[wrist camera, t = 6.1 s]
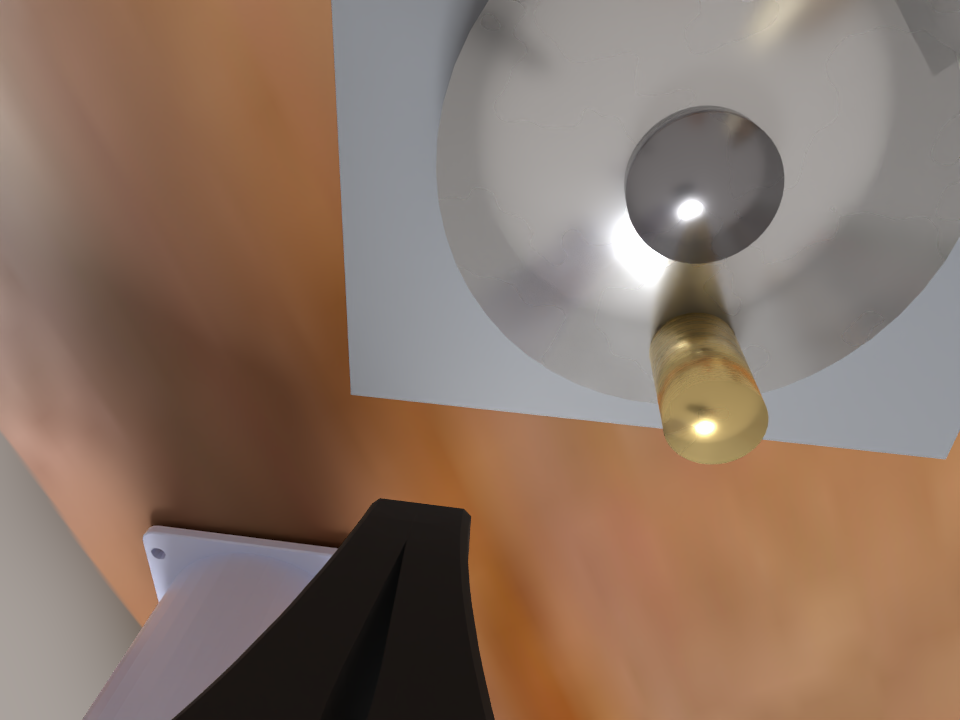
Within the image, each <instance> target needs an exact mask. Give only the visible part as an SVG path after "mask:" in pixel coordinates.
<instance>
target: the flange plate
mask: <svg viewBox="0 0 960 720" xmlns="http://www.w3.org/2000/svg"><path fill="white" fill-rule="evenodd" d="M436 178H437V189H438V201H439V207H440V212H441V216H442V221H443V226H444V230H445V235H446V238H447V240H448V243H449V246H450V249H451V252H452V254H453V257H454V260H455V263H456V265H457V267H458V269H459V271H460V273H461V275H462V277H463V279H464V281H465V283H466V285H467V286H468V288H469V290H470V292H471V293H472V295H473V296H474V298H475V299H476V301H477V302H478V303H479V305H480V306H481V308H482V309H483V311H484V312H485V314H486V315H487V316H488V317H489V318H490V319H491V321H492V322H493V323H494V324H495V325H496V326H497V327H498V328H499V330H500V331H501V332H502V333H503V334H504V335H505V336H506V337H507V338H508V339H509V340H510V341H512V342H513V343H514V344H515V345H516V346H517V347H519V348H520V349H521V350H522V351H523V352H524V353H525V354H527V355H528V356H529V357H531V358H532V359H534V360H535V361H537V362H538V363H540V364H541V365H543V366H544V367H546V368H547V369H549V370H550V371H552V372H554V373H556V374H558V375H560V376H562V377H564V378H566V379H568V380H570V381H572V382H574V383H576V384H578V385H581V386H584V387H586V388H589V389H592V390H594V391H597V392H600V393H603V394H606V395H610V396H615V397H619V398H623V399H627V400H631V401H638V402H646V403H654V404H658V405H659V411H660V416H661V421H662V426H663V432H664V436H665V438H666V440H667V442H668V444H669V445H670V447H671V448H672V449H673V450H674V451H675V452H676V453H677V454H679V455H680V456H682V457H684V458H686V459H688V460H690V461H693V462H697V463H702V464H722V463H727V462H731V461H734V460H736V459H739V458H741V457H743V456H745V455H746V454H748V453H749V452H751V451H752V450H753V449H754V448H755V447H756V446H757V445H758V444H759V443H760V442H761V440H762V439H763V437H764V435H765V433H766V430H767V427H768V417H769V416H768V411H767V408H766V405H765V403H764V400H763V398H762V396H761V394H762V393H765V392H768V391H772V390H775V389H778V388H782V387H785V386H787V385H789V384H792V383H794V382H796V381H799V380H801V379H804V378H806V377H808V376H811V375H813V374H815V373H817V372H819V371H821V370H822V369H824V368H826V367H828V366H830V365H832V364H833V363H835V362H837V361H839V360H841V359H843V358H844V357H846V356H847V355H849V354H850V353H852V352H853V351H854V350H856V349H857V348H859V347H860V346H862V345H863V344H865V343H866V342H868V341H869V340H870V339H872V338H873V337H874V336H875V335H877V334H878V333H879V332H880V331H881V330H883V329H884V328H885V327H886V326H887V325H888V324H890V323H891V322H892V321H893V320H894V319H895V318H897V317H898V316H899V315H900V314H901V313H902V312H903V311H904V310H905V309H906V308H907V306H908V305H909V304H910V303H911V302H912V301H913V300H914V299H915V298H916V297H917V296H918V295H919V294H920V293H921V292H922V291H923V290H924V288H925V287H926V286H927V284H928V283H929V282H930V280H931V279H932V278H933V276H934V275H935V274H936V272H937V271H938V270H939V269H940V267H941V266H942V265H943V263H944V262H945V261H946V259H947V257H948V256H949V254H950V252H951V251H952V249H953V247H954V246H955V244H956V242H957V240H958V239H959V237H960V0H489V1H488V2H487V4H486V5H485V7H484V9H483V10H482V12H481V14H480V15H479V17H478V19H477V20H476V22H475V23H474V25H473V27H472V28H471V30H470V32H469V34H468V37H467V39H466V41H465V43H464V45H463V48H462V50H461V52H460V54H459V57H458V59H457V61H456V63H455V65H454V69H453V72H452V75H451V78H450V82H449V85H448V88H447V92H446V95H445V98H444V101H443V107H442V113H441V119H440V124H439V130H438V136H437V158H436Z"/></svg>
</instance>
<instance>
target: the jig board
mask: <svg viewBox="0 0 960 720" xmlns="http://www.w3.org/2000/svg"><path fill="white" fill-rule="evenodd" d="M488 1H489V0H331V3H332V23H333V43H334V63H335V83H336V103H337V123H338V143H339V163H340V184H341V204H342V224H343V244H344V264H345V284H346V304H347V324H348V344H349V364H350V384H351V395H359V396H368V397H377V398H386V399H395V400H405V401H414V402H423V403H432V404H441V405H451V406H460V407H469V408H478V409H487V410H497V411H506V412H515V413H524V414H533V415H543V416H552V417H561V418H570V419H579V420H589V421H598V422H607V423H616V424H626V425H635V426H644V427H653V428H662V429H663V426H662V421H661V416H660V411H659V405H658V404H654V403H646V402H638V401H631V400H627V399H623V398H619V397H615V396H610V395H606V394H603V393H600V392H597V391H594V390H592V389H589V388H586V387H584V386H581V385H578V384H576V383H574V382H572V381H570V380H568V379H566V378H564V377H562V376H560V375H558V374H556V373H554V372H552V371H550V370H549V369H547V368H546V367H544V366H543V365H541V364H540V363H538V362H537V361H535V360H534V359H532V358H531V357H529V356H528V355H527V354H525V353H524V352H523V351H522V350H521V349H520V348H519V347H517V346H516V345H515V344H514V343H513V342H512V341H510V340H509V339H508V338H507V337H506V336H505V335H504V334H503V333H502V332H501V331H500V330H499V328H498V327H497V326H496V325H495V324H494V323H493V322H492V321H491V319H490V318H489V317H488V316H487V315H486V314H485V312H484V311H483V309H482V308H481V306H480V305H479V303H478V302H477V301H476V299H475V298H474V296H473V295H472V293H471V292H470V290H469V288H468V286H467V285H466V283H465V281H464V279H463V277H462V275H461V273H460V271H459V269H458V267H457V265H456V263H455V260H454V257H453V254H452V252H451V249H450V246H449V243H448V240H447V238H446V235H445V230H444V226H443V221H442V216H441V212H440V207H439V201H438V189H437V178H436V158H437V136H438V130H439V124H440V119H441V113H442V107H443V101H444V98H445V95H446V92H447V88H448V85H449V82H450V78H451V75H452V72H453V69H454V65H455V63H456V61H457V59H458V57H459V54H460V52H461V50H462V48H463V45H464V43H465V41H466V39H467V37H468V34H469V32H470V30H471V28H472V27H473V25H474V23H475V22H476V20H477V19H478V17H479V15H480V14H481V12H482V10H483V9H484V7H485V5H486V4H487V2H488ZM761 396H762V398H763V400H764V403H765V405H766V408H767V411H768V416H769V417H768V427H767V430H766V433H765V435H764V437H763V439H764V440H773V441H782V442H791V443H800V444H810V445H819V446H828V447H837V448H846V449H856V450H865V451H874V452H883V453H892V454H902V455H911V456H920V457H929V458H938V459H946V458H947V455H948V453H949V451H950V449H951V447H952V445H953V443H954V441H955V439H956V437H957V435H958V432H959V430H960V237H959V239H958V240H957V242H956V244H955V246H954V247H953V249H952V251H951V252H950V254H949V256H948V257H947V259H946V261H945V262H944V263H943V265H942V266H941V267H940V269H939V270H938V271H937V272H936V274H935V275H934V276H933V278H932V279H931V280H930V282H929V283H928V284H927V286H926V287H925V288H924V290H923V291H922V292H921V293H920V294H919V295H918V296H917V297H916V298H915V299H914V300H913V301H912V302H911V303H910V304H909V305H908V306H907V308H906V309H905V310H904V311H903V312H902V313H901V314H900V315H899V316H898V317H897V318H895V319H894V320H893V321H892V322H891V323H890V324H888V325H887V326H886V327H885V328H884V329H883V330H881V331H880V332H879V333H878V334H877V335H875V336H874V337H873V338H872V339H870V340H869V341H868V342H866V343H865V344H863V345H862V346H860V347H859V348H857V349H856V350H854V351H853V352H852V353H850V354H849V355H847V356H846V357H844V358H843V359H841V360H839V361H837V362H835V363H833V364H832V365H830V366H828V367H826V368H824V369H822V370H821V371H819V372H817V373H815V374H813V375H811V376H808V377H806V378H804V379H801V380H799V381H796V382H794V383H792V384H789V385H787V386H785V387H782V388H778V389H775V390H772V391H768V392H765V393H762V394H761Z"/></svg>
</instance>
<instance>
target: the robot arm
mask: <svg viewBox="0 0 960 720" xmlns="http://www.w3.org/2000/svg"><path fill="white" fill-rule="evenodd" d="M470 525H471V516H470V515H469V514H468V513H467V512H466V511H465V510H464V509H460V508H452V507H445V506H437V505H429V504H421V503H413V502H405V501H397V500H389V499H381V498H380V499H378V500H377V501H375V502H374V503H372V505H371V506H370V507H369V509H368V510H367V512H366V513H365V514H364V516H363V517H362V519H361V520H360V521H359V522H358V524H357V525H356V526H355V528H354V529H353V530H352V532H351V533H350V534H349V536H348V537H347V538H346V539H345V541H344V542H343V543H342V544H341V546H340V547H339V548H331V547H323V546H315V545H307V544H299V543H292V542H284V541H276V540H268V539H260V538H252V537H244V536H236V535H228V534H221V533H213V532H205V531H197V530H189V529H181V528H173V527H165V526H152V527H150V528H149V529H148V530H147V532H146V533H145V534H144V536H143V543H144V547H145V551H146V554H147V558H148V562H149V566H150V570H151V574H152V578H153V582H154V586H155V589H156V593H157V597H158V601H159V603H158V605H157V606H156V608H155V610H154V611H153V613H152V614H151V616H150V617H149V619H148V620H147V622H146V623H145V625H144V626H143V628H142V629H141V631H140V633H139V634H138V635H137V637H136V639H135V640H134V641H133V643H132V645H131V646H130V648H129V649H128V651H127V652H126V654H125V655H124V657H123V658H122V660H121V661H120V663H119V664H118V666H117V667H116V669H115V670H114V672H113V673H112V675H111V676H110V678H109V680H108V681H107V683H106V684H105V686H104V687H103V689H102V690H101V692H100V693H99V695H98V696H97V698H96V699H95V701H94V702H93V704H92V705H91V707H90V708H89V710H88V711H87V713H86V715H85V716H84V717H83V719H82V720H495V719H494V715H493V711H492V707H491V703H490V698H489V694H488V690H487V685H486V681H485V676H484V672H483V667H482V662H481V657H480V652H479V647H478V641H477V634H476V628H475V622H474V615H473V609H472V602H471V594H470V584H469V570H468V554H469V539H470Z"/></svg>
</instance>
